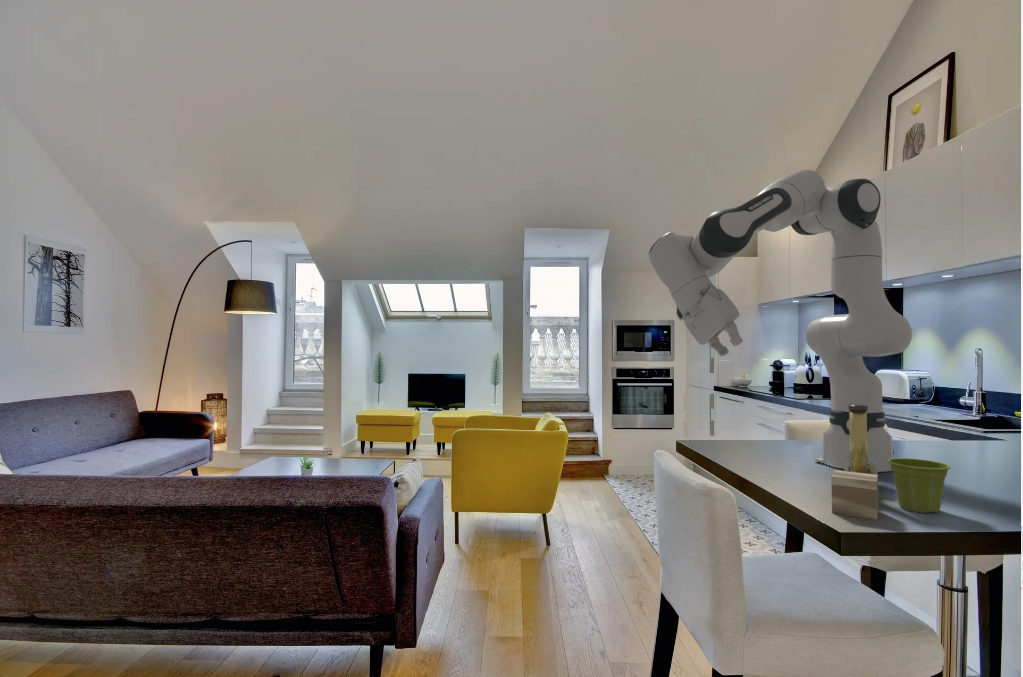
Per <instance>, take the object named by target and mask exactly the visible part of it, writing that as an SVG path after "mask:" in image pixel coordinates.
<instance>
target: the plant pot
mask: <svg viewBox="0 0 1023 677" xmlns="http://www.w3.org/2000/svg"><path fill="white" fill-rule="evenodd" d="M888 462H889V463H890V465H891V469H892V471H891V472H892V473H893V474H892V475H893V478H894V482H895V489H896V496H897V501H898V505H899V507H900V508H904V509H906V510H907V511H910V512H916V513H922V514H929V513H931V512H932V513H935V514H936V513H937V514H938V513H939V512H940V510H941V504H942V500H943V499H942V498H943V492H944V485H945V479H946V477H947V475H948V471H949V470H950V469H951V465H949V464H947V463H943V462H939V461H935V460H934V461H933V460H928V459H922V458H921V459H920V458H909V457H905V458H904V457H896V458H894V457H893V459H888Z"/></svg>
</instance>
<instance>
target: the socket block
mask: <svg viewBox="0 0 1023 677" xmlns="http://www.w3.org/2000/svg"><path fill="white" fill-rule="evenodd" d="M830 478H831V513H832V514H839V515H844V516H850V517H858V518H865V519H871V520H878V515H879V482H878V481H879V474H878V475H874V474H865V473H856V472H847V471H845V470H835V469H834V471H833V473H832V474H831V477H830Z"/></svg>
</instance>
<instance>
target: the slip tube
mask: <svg viewBox="0 0 1023 677" xmlns="http://www.w3.org/2000/svg"><path fill="white" fill-rule="evenodd" d="M848 410H849V420H850V472H856V473H865V474H871V469H868V461H867V411H868V406H867V405H848Z"/></svg>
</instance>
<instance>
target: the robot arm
mask: <svg viewBox="0 0 1023 677" xmlns="http://www.w3.org/2000/svg"><path fill="white" fill-rule="evenodd" d="M880 207H881V193H880V189H878V186H876V184H875V183H873V182H872V181H871V180H870V179H867V178H854V179H849V180H847V181H846V180H845V181H844V182H839V183H835V184H832V185H829V186H826V183H825V180H824V178H823V177H822V176H821V174H819V173H818V172H817V171H814V170H813V169H812V170H811V169H807V168H806V169H805V168H804V169H799V170H797V171H794V172H791V173H789V174H787V175H784V176H783V177H781V178H779V179H777V180H775V181H774V182H772V183H771V184H769V185H767V186H766V187H765V188H764V189H762V190H761V191H760V192H759V193H757V195H755V197H753V198H752V199H749V200H748V201H746V202H745V203H743V204H741V205H739V206H736V207H732V208H724V209H721V210H716V211H714V212H712V213H711V214H710V215H708V216H707V218H706V220H705V221H704V223H703V224H702V226H701V228H700V229H699V231H698V232H697V233H696V234H695V235H681V234H676V233H675V232H674V231H669V232H666V233H664V234H662V236H660V237H659V238H658V239H657V240H656V241H655V242H654V243H653V244H652V246H651V247H650V249H649V252H648V258H649V261H650V263H651V265H652V268H653V270H654V271H655V274H656V275H657V276H658V278H659V279H660V281H661V282H662V283H663V284H664V285H665V286H666V287H667V288H668V291H669V293H670V297H671V298H672V300H674V302H675V303H674V304H675V306H676V312H675V315H676V316H677V317H678V319H679V321H683V323H684V324H685V326H686V328H687V330H688V331H689V333H690V334H691V335H692V337H693V338H694V339H695V341H696V342H697V343H698V344H699V345H701V346H705V345H707V344H709V346H710V347H711V348H712V349H713V350H715V352H716V353H717V354H718V356H719V357H723V358H724V356H726V355H728V354H729V352H730V350H729V349H728V348H727V347H726V345H723V343H722V342H721V341H720V338H719V337H718V336H719V335H721V333H723V331H724V332H726V333H727V335H728V336H729V342H730V343H731V344H732V346H733V347H738V346H740V345H741V344H742V343H743V342H744V340H743V338H742V337H741V335H740V332H739V329H738V325H737V324H736V322H735V321H737V319H738V318H739V317H740V312H739V309H738V307H737V306H736V305H735V304H734V302H733V301H732V300H731V299H730V297H729V296H728V295H727V294H726V293H725V291H724V290H722V289H721V288H717V286H715V285H714V283H713V282H712V281H711V279H710V278H711V277H713V276H716V275H717V274H719V273H720V272H721V271H722V270H723V269H724V268H725V267H726V266H727V265H728V264H729V263H730V262H731V261H732V259H734V257H736V255H737V254H739V253H740V252H741V251H742V250H743V249H744V248H746V247H747V245H748V244H749V243H750V241H751V240H752V236H753V235H754V233H755V231H757V230H759V229H762V230H764V231H767V232H770V233H771V232H772V233H776V232H779V231H782V230H783V229H784V230H785V229H786V228H788V227H791V228H792V229H793V231H794V232H796V233H797V234H799V235H801V236H815V235H818V234H822V233H830V234H831V237H832V240H833V241H832V247H831V256H830V257H831V259H830V260H831V261H830V263H831V264H830V267H831V268H830V269H831V270H830V276H831V277H830V288H831V291H832V293H834V295H836V296H837V297H839V298H840V299H843V301H845V303H846V306H847V309H848V313H844V314H843V313H842V314H840V313H839V314H830V315H826V316H823V317H820V318H817V319H814V320H812V321H811V322H810V323H809V324H808V326H807V329H806V331H805V339H806V340H805V341H806V344H807V345H808V348H809V349H810V350H812V351H813V352H814V353H815V354H816V355H817V356H818V357H819V358H820V360H821V361H822V363H823V365H824V366H825V369H826V371H827V375H828V378H829V383H830V384H829V385H830V402H831V403H830V405H831V408H830V410H829V414H828V418H829V421H828V422H829V423H830V424H829V425H828V427H827V428H826V429H825V430H823V431H822V455H820V456H817V457H815V458H814V462H815V461H817V462H821V463H820V464H822V463H825V464H824V465H826V464H827V466H829V465H830V467H833V468H837V469H842V470H845V469H844V461H845V459H846V457H847V455H848V454H850V420H849V410H848V405H867V406H868V411H867V456H874V457H877V459H878V473H879V472H880V473H881V472H893V471H892V469H891V465H890V463H889V462H888V459H893V458H894V454H895V451H894V449H893V436H892V435H891V434H890V433H889V432H887V430H886V429H885V426H886V416H885V415H886V414H885V412H884V411H883V384H882V381H881V379H880V378H879V377H878V376H877V375H876V374H874V373H872V372H871V371H870V370H869V369H868V367H866V365H865V362H864V360H863V357H886V356H892V355H896V354H900V353H903V352H904V351H905V350H906V349H908V347H909V345H910V344H911V341H912V338H913V330H912V326H911V324H910V322H909V320H908V319H907V318H905V316H903V315H902V314H900V313H899V312H897V311H896V310H895V309H894V308H893V307H892V305H891V303H890V302H889V300H888V298H887V295H886V292H885V290H884V284H883V282H884V280H883V248H882V238H881V233H880V228H879V224H878V222H877V221H876V218H877V216H878V212H879V210H880ZM817 462H816V463H817Z"/></svg>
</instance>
